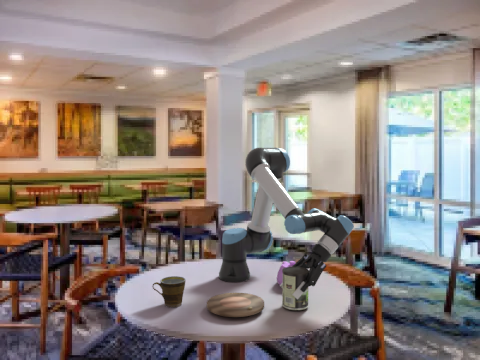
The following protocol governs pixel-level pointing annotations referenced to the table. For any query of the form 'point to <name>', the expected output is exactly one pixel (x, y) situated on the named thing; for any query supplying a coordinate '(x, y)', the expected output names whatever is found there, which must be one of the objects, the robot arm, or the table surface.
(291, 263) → the teapot
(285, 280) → the coffee can
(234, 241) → the robot arm
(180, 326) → the table surface
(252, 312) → the turntable
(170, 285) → the ceramic cup
